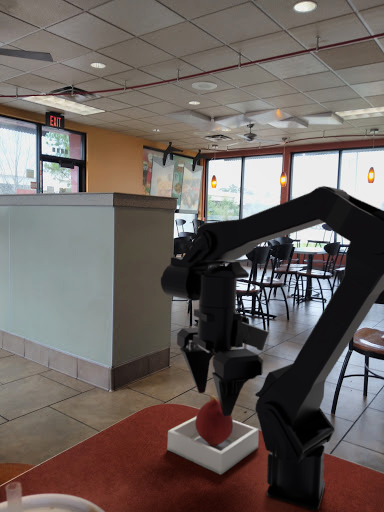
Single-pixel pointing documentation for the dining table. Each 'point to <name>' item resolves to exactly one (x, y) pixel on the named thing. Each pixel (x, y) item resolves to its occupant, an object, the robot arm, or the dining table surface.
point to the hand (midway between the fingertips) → (213, 403)
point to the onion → (213, 423)
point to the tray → (218, 457)
